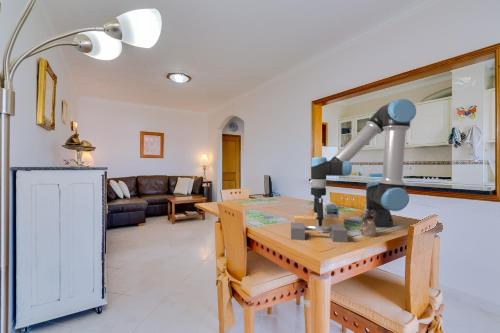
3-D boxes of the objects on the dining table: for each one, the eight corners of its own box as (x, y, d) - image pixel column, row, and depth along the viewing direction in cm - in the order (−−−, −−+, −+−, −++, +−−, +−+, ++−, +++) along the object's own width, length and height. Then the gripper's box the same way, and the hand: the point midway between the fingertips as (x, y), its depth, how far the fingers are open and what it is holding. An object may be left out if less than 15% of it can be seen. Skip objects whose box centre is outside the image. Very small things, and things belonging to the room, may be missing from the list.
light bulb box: (339, 225, 130) (339, 205, 130) (326, 225, 131) (326, 205, 130) (332, 220, 141) (332, 202, 141) (321, 220, 141) (321, 201, 141)
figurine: (359, 231, 119) (360, 207, 118) (375, 233, 115) (376, 208, 115) (358, 235, 112) (359, 210, 112) (375, 237, 109) (376, 211, 109)
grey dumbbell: (342, 235, 113) (342, 224, 113) (347, 242, 103) (347, 230, 103) (290, 232, 117) (290, 222, 116) (291, 239, 107) (291, 228, 107)
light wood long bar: (341, 228, 124) (341, 217, 124) (343, 231, 119) (343, 219, 119) (294, 226, 128) (294, 215, 128) (294, 229, 123) (294, 218, 123)
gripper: (308, 184, 136) (308, 221, 136) (313, 190, 111) (313, 235, 112) (322, 184, 134) (322, 222, 135) (330, 190, 110) (329, 236, 110)
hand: (318, 228), depth 123 cm, fingers open, 13 cm apart
